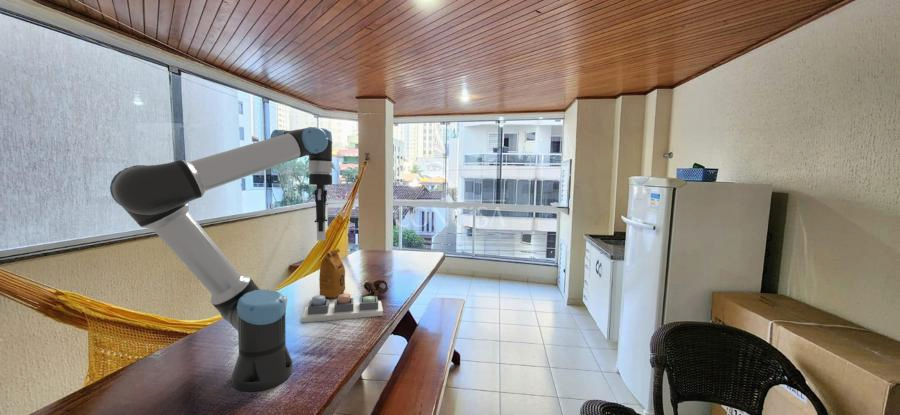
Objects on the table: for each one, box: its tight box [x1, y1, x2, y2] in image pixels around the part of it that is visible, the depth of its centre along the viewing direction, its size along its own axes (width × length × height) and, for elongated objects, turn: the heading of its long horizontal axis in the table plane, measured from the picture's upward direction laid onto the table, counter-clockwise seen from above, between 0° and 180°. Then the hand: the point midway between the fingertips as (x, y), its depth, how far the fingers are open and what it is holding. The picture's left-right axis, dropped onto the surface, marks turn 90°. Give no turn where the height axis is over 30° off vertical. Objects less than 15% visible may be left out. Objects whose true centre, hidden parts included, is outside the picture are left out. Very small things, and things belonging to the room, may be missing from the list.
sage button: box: [362, 295, 375, 303], centre depth 145 cm, size 5×5×3 cm
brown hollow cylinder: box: [363, 279, 389, 298], centre depth 165 cm, size 12×10×8 cm
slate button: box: [311, 294, 326, 306], centre depth 139 cm, size 5×5×3 cm
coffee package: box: [318, 248, 346, 299], centre depth 163 cm, size 10×12×22 cm
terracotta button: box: [337, 293, 352, 304], centre depth 142 cm, size 5×5×3 cm
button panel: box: [301, 295, 384, 323], centre depth 142 cm, size 31×12×5 cm, turn 106°
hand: (321, 240), depth 121 cm, fingers closed
